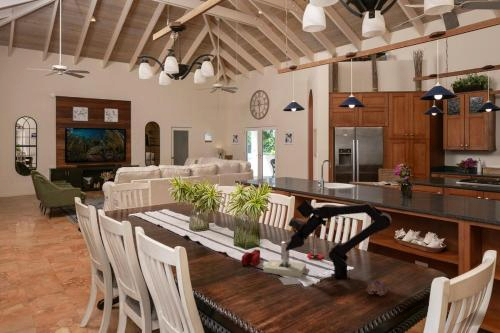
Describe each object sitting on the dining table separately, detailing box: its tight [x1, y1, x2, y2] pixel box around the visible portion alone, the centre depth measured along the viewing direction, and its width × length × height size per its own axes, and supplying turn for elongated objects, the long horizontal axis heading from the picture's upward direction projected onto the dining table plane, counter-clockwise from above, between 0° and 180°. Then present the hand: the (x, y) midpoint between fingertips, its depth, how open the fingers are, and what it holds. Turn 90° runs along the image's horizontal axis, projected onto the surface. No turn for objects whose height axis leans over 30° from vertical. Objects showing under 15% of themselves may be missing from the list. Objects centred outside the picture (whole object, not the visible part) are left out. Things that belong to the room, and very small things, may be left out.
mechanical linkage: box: [241, 248, 261, 268], centre depth 182 cm, size 16×7×5 cm, turn 161°
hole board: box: [263, 258, 307, 278], centre depth 170 cm, size 18×12×3 cm, turn 71°
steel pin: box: [280, 240, 290, 268], centre depth 169 cm, size 4×4×14 cm
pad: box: [278, 276, 302, 286], centre depth 157 cm, size 8×8×1 cm
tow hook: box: [306, 234, 324, 261], centre depth 189 cm, size 8×13×9 cm
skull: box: [366, 280, 388, 296], centre depth 144 cm, size 12×8×6 cm, turn 135°
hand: (287, 247), depth 169 cm, fingers open, 9 cm apart
